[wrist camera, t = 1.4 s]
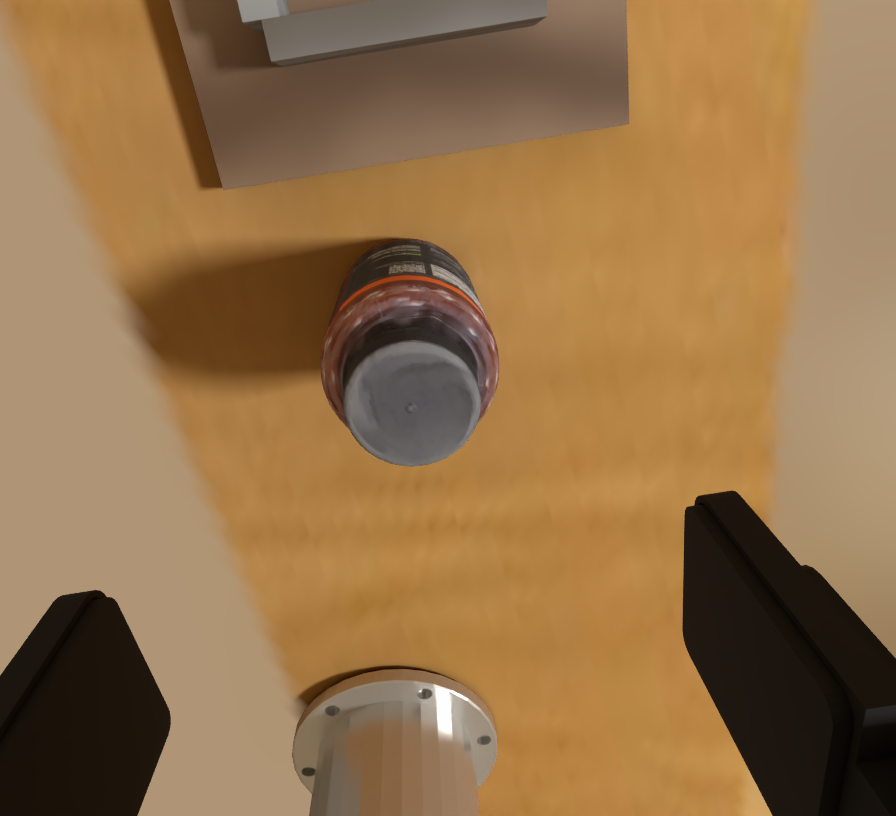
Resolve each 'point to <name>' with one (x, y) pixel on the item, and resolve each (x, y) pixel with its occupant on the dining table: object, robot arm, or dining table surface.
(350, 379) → the supplement bottle
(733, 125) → the dining table surface
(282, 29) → the bottle holder
